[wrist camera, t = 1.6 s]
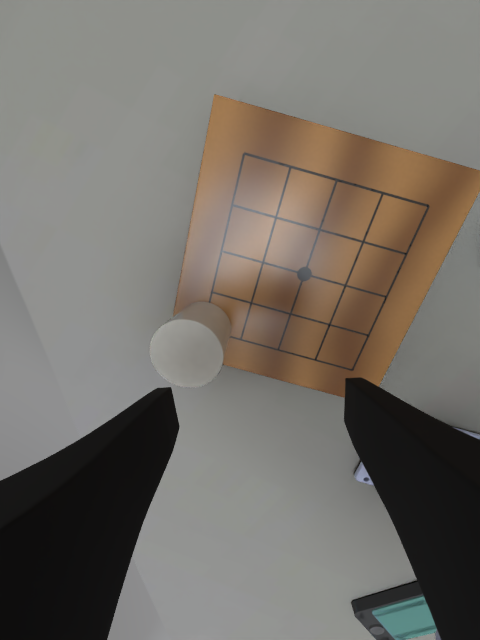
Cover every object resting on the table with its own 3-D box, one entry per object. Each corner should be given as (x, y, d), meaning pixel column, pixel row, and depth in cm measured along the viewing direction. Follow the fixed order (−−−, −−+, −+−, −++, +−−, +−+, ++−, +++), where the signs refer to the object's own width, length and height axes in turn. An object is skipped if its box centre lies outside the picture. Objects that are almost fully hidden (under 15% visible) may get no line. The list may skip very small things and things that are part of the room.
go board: (471, 178, 15) (489, 172, 14) (363, 395, 20) (369, 404, 19) (217, 105, 15) (214, 93, 14) (171, 343, 20) (166, 349, 19)
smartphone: (353, 616, 27) (489, 578, 24) (349, 600, 28) (478, 562, 25) (382, 648, 29) (515, 617, 25) (377, 632, 30) (503, 600, 26)
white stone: (237, 310, 18) (231, 331, 13) (223, 361, 19) (213, 396, 14) (180, 294, 17) (155, 310, 13) (170, 347, 19) (144, 377, 14)
